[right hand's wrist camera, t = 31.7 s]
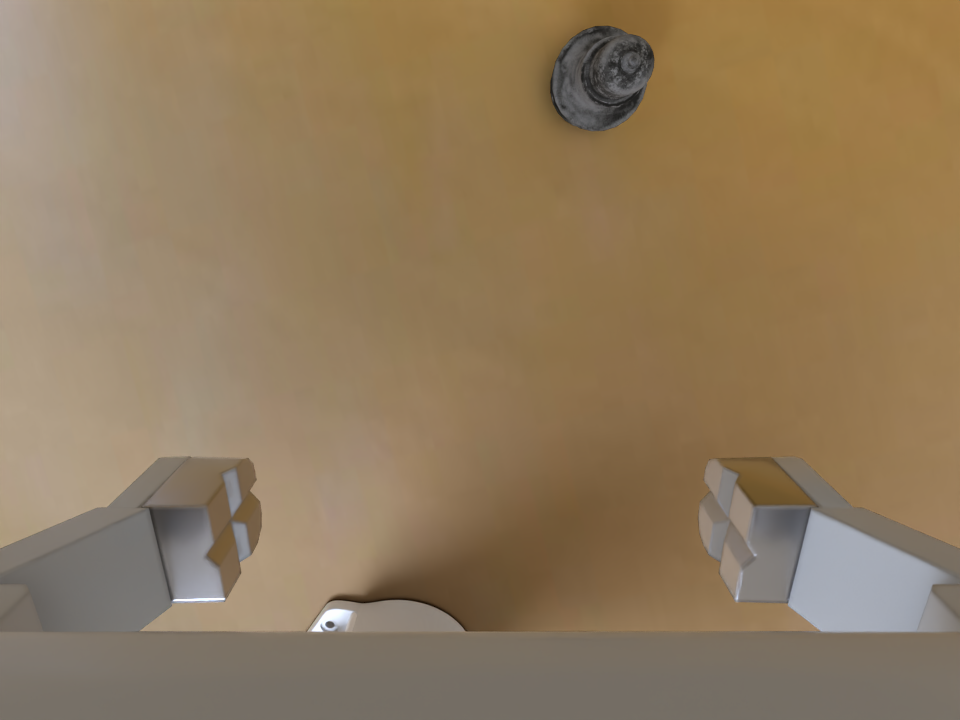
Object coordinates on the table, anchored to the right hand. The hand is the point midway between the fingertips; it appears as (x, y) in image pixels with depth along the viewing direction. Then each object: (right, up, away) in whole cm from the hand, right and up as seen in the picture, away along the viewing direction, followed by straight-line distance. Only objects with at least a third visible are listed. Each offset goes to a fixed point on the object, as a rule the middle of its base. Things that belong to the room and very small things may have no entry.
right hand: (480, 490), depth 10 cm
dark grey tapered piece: (+7, +21, +28) cm, 36 cm away
